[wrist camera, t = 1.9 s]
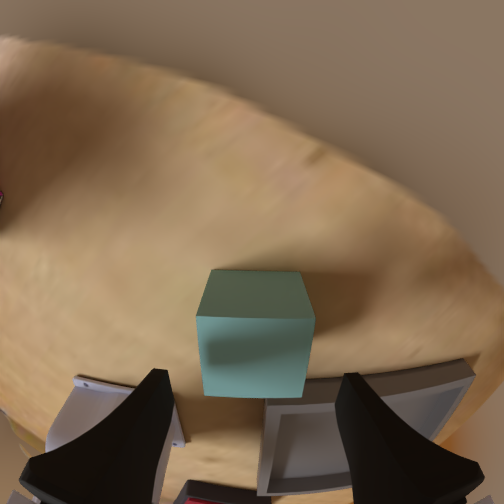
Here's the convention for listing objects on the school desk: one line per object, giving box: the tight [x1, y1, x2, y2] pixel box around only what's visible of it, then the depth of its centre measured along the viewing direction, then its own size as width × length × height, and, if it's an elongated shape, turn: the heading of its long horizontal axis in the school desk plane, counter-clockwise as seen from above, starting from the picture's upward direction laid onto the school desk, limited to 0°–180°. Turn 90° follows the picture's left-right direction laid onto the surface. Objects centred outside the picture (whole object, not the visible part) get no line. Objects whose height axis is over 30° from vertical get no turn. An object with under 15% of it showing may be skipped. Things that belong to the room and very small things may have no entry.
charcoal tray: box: [257, 358, 476, 496], centre depth 21 cm, size 18×18×2 cm
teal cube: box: [196, 270, 316, 398], centre depth 15 cm, size 5×5×5 cm
